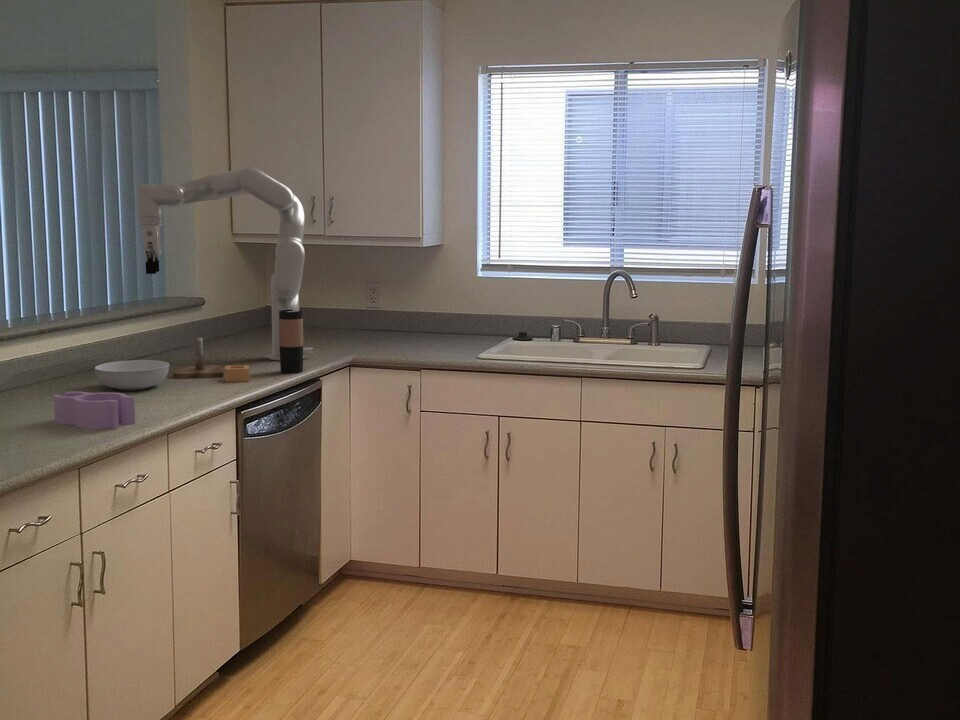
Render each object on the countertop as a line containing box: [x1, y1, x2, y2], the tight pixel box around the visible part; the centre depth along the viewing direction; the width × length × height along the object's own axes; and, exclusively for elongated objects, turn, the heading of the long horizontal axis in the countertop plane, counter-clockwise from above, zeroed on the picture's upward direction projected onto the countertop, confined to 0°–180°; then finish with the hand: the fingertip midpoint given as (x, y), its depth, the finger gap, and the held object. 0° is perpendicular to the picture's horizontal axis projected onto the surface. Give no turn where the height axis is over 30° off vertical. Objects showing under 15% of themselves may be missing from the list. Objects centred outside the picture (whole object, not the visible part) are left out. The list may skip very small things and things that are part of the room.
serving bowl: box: [94, 359, 170, 391], centre depth 311 cm, size 21×21×7 cm
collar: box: [224, 364, 250, 383], centre depth 326 cm, size 7×7×4 cm
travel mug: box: [279, 309, 304, 374], centre depth 341 cm, size 8×8×20 cm
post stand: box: [173, 337, 226, 379], centre depth 335 cm, size 15×15×12 cm
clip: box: [53, 390, 137, 430], centre depth 262 cm, size 20×12×7 cm, turn 70°
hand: (152, 272), depth 355 cm, fingers open, 9 cm apart
